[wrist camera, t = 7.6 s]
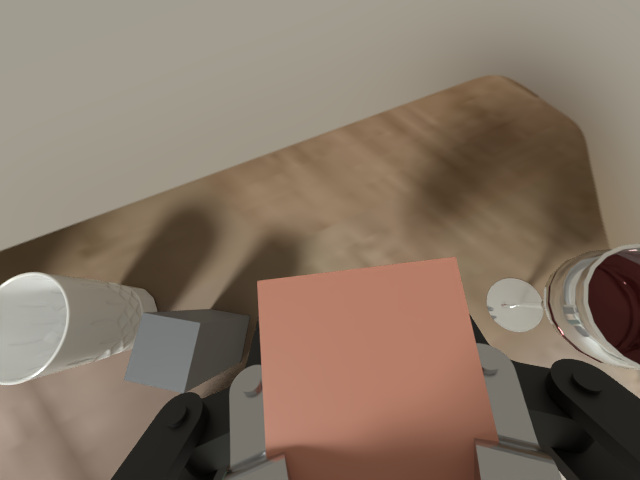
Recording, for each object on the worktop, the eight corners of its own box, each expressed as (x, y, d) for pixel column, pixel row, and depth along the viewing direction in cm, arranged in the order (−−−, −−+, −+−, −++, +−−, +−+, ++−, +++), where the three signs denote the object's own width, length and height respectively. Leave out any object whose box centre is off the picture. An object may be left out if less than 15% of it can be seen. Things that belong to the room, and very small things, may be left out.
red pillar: (320, 378, 14) (268, 515, 5) (312, 293, 15) (256, 281, 6) (405, 370, 14) (512, 502, 5) (390, 284, 15) (455, 256, 6)
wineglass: (534, 261, 26) (685, 228, 14) (567, 332, 24) (768, 361, 13) (465, 278, 26) (558, 260, 15) (493, 350, 24) (622, 394, 13)
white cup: (89, 301, 30) (-36, 301, 20) (151, 269, 30) (56, 253, 20) (106, 369, 28) (-22, 405, 18) (172, 335, 28) (79, 352, 18)
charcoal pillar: (199, 353, 27) (123, 379, 18) (210, 309, 28) (142, 312, 19) (240, 361, 27) (183, 393, 18) (250, 315, 28) (200, 323, 18)
